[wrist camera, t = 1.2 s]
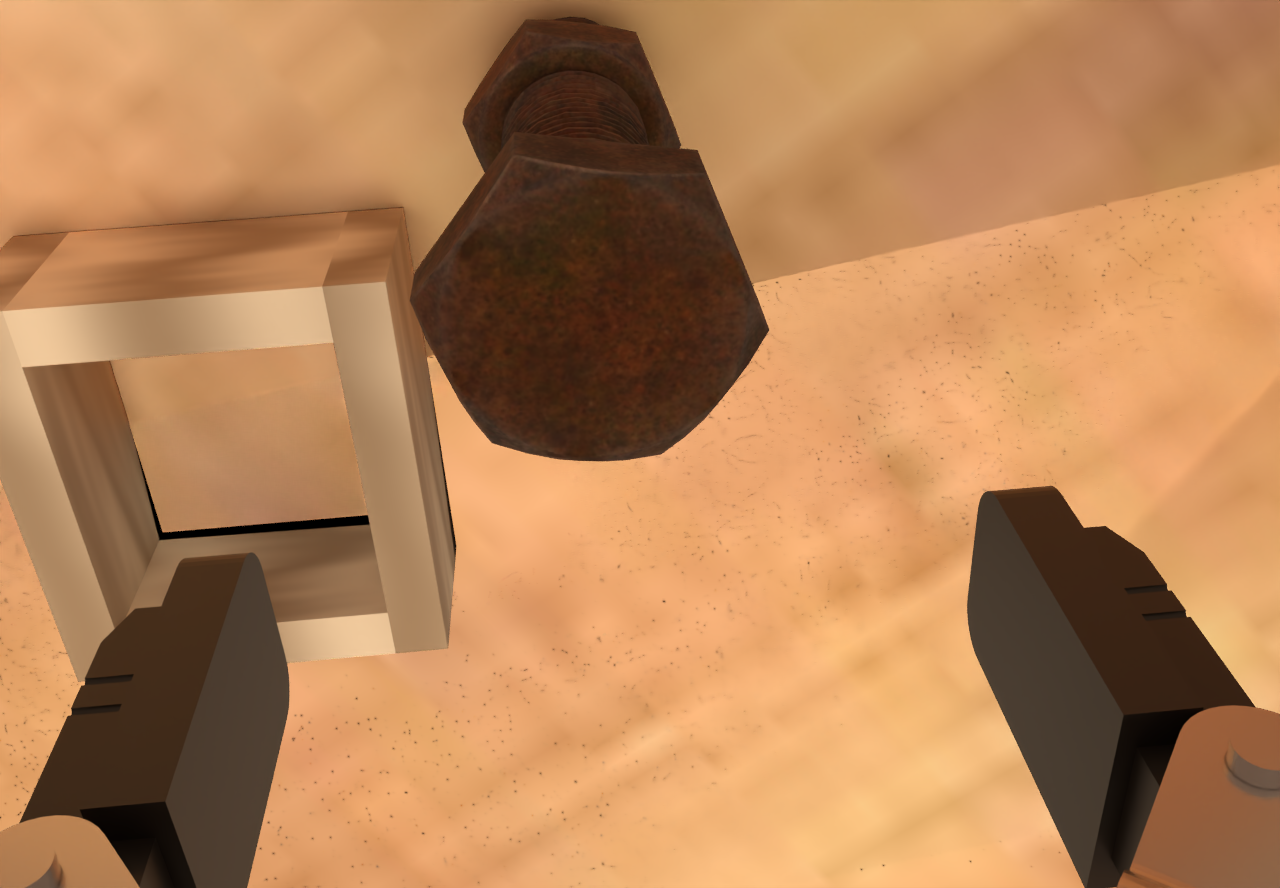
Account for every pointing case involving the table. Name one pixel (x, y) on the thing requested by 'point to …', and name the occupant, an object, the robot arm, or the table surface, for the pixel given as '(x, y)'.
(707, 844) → the table surface
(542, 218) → the bolt
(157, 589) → the socket block
